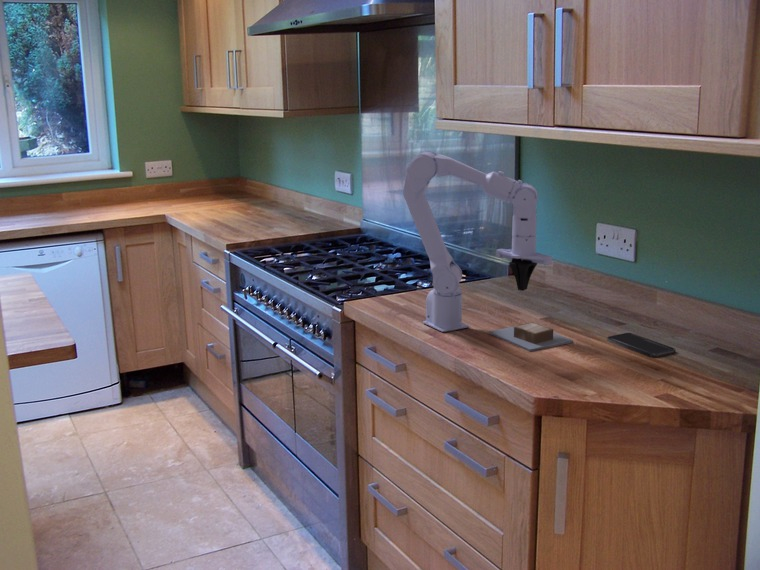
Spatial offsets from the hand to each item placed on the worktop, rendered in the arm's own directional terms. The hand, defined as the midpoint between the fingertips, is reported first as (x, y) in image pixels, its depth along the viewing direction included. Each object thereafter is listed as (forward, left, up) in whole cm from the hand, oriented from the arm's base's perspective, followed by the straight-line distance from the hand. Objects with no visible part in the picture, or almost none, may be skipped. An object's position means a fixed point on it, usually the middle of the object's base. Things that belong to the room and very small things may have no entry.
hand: (522, 289), depth 202 cm
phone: (+24, +16, -11) cm, 31 cm away
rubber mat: (+6, -2, -10) cm, 12 cm away
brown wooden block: (+4, -3, -9) cm, 10 cm away
